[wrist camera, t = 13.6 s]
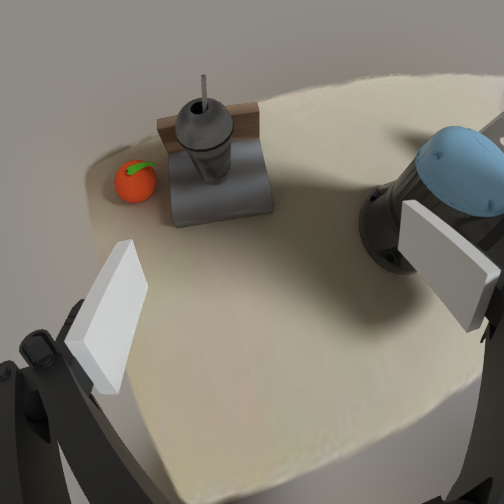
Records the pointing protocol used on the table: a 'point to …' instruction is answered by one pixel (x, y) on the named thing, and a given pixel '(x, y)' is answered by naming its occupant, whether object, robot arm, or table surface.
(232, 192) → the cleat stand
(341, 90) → the table surface
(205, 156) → the beverage cup
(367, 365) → the table surface
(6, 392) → the robot arm
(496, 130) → the phone holder
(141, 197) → the clementine
